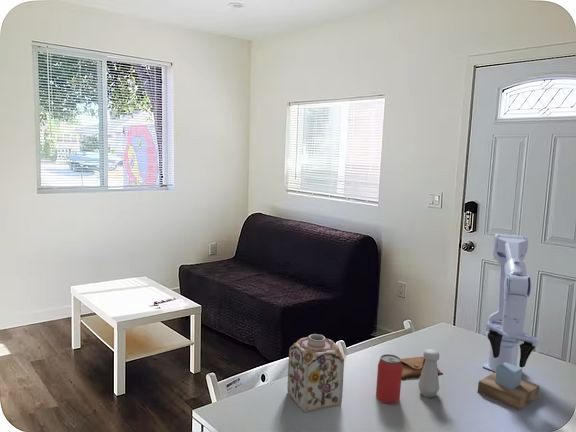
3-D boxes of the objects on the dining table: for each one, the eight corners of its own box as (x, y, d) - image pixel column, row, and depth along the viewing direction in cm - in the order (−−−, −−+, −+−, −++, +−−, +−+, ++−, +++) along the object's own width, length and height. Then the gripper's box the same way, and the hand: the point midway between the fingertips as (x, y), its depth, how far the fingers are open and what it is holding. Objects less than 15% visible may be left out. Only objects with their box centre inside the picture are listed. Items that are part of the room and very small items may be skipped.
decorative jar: (286, 392, 137) (288, 331, 134) (322, 385, 141) (325, 326, 139) (304, 414, 126) (307, 348, 124) (343, 406, 131) (346, 342, 128)
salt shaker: (439, 400, 136) (443, 356, 134) (418, 397, 137) (422, 353, 135) (437, 390, 142) (441, 348, 140) (417, 387, 143) (420, 345, 141)
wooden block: (497, 382, 149) (498, 370, 148) (537, 398, 140) (539, 385, 139) (477, 393, 141) (478, 381, 141) (518, 412, 132) (519, 398, 132)
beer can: (385, 407, 131) (388, 365, 129) (370, 395, 137) (373, 355, 135) (404, 402, 134) (407, 361, 132) (389, 391, 140) (392, 351, 138)
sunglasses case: (396, 381, 146) (391, 358, 148) (384, 383, 152) (380, 361, 154) (445, 374, 152) (439, 352, 155) (432, 376, 158) (427, 355, 161)
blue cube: (503, 378, 143) (505, 362, 143) (520, 384, 140) (522, 368, 139) (495, 382, 140) (496, 366, 140) (511, 389, 136) (513, 373, 136)
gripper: (482, 311, 141) (478, 356, 143) (533, 327, 130) (528, 374, 132) (494, 307, 145) (490, 350, 147) (544, 322, 134) (539, 368, 136)
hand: (508, 361), depth 140 cm, fingers open, 7 cm apart
